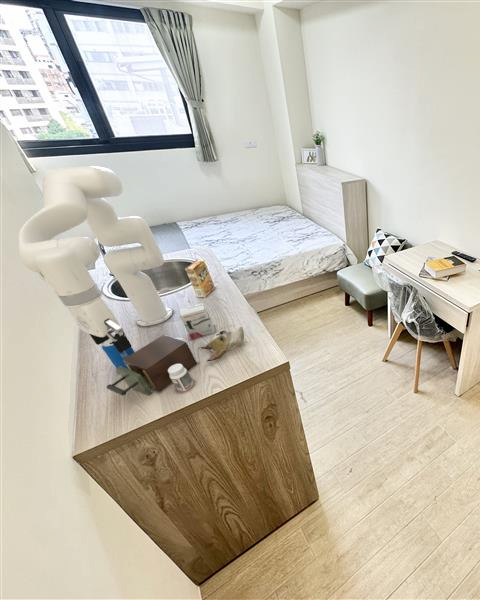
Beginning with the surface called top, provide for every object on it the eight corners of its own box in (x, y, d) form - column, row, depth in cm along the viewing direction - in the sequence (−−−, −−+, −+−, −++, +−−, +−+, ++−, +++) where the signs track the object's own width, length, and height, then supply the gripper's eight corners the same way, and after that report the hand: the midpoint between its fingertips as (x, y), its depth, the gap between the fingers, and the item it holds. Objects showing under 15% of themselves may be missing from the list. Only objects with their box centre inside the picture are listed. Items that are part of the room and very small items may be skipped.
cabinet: (160, 392, 101) (145, 369, 95) (137, 382, 105) (122, 359, 99) (197, 363, 111) (186, 342, 106) (175, 355, 115) (163, 334, 109)
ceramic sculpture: (245, 329, 113) (200, 350, 105) (253, 347, 118) (210, 368, 110) (236, 316, 120) (193, 335, 112) (244, 334, 125) (203, 352, 117)
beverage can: (124, 375, 107) (105, 349, 100) (114, 369, 110) (96, 342, 103) (144, 363, 112) (128, 337, 105) (135, 357, 114) (118, 331, 108)
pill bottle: (193, 378, 106) (184, 360, 101) (193, 388, 102) (183, 370, 98) (177, 383, 104) (166, 365, 99) (176, 394, 100) (165, 375, 96)
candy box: (205, 297, 148) (193, 268, 139) (196, 297, 148) (184, 268, 140) (215, 287, 155) (204, 259, 147) (207, 287, 155) (195, 259, 147)
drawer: (133, 408, 95) (119, 389, 90) (112, 398, 98) (98, 379, 93) (185, 368, 108) (175, 350, 104) (165, 361, 111) (155, 343, 107)
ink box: (191, 340, 122) (179, 315, 116) (190, 333, 126) (178, 309, 119) (215, 332, 126) (205, 308, 120) (213, 326, 130) (203, 302, 123)
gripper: (43, 296, 81) (80, 346, 90) (84, 309, 75) (120, 361, 85) (77, 282, 87) (109, 331, 96) (118, 293, 81) (147, 344, 90)
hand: (114, 345), depth 90 cm, fingers open, 9 cm apart
